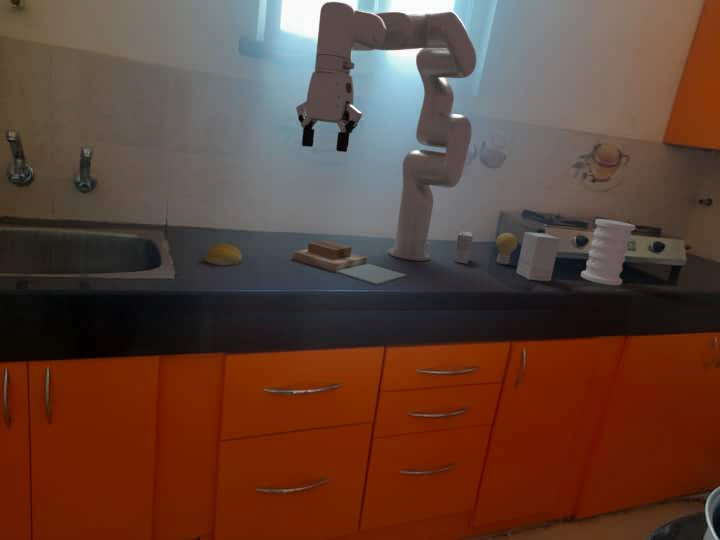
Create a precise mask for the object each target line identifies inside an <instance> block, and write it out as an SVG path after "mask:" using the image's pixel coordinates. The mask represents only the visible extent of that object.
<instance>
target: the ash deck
mask: <svg viewBox="0 0 720 540" xmlns="http://www.w3.org/2000/svg"><path fill="white" fill-rule="evenodd" d="M367 259H368V257H366V256H363V255H360V254H355V253H352V252H351V256H350V257H345V258H340V259H335V260H334V259H331V258H327V257H324V256H320V255H317V254H314V253H310V252H308V248H307V249H300V250H294V251H292V260H295V261H299V262H301V263H305V264H307V265H311V266H314V267H316V268H317V267H318V268H321V269H324V270H327V271H330V272H334V273H336V271H338V270H342V269H347V268H351V267H355V266H360V265H364V264H367Z"/></svg>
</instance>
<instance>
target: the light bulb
mask: <svg viewBox="0 0 720 540" xmlns="http://www.w3.org/2000/svg"><path fill="white" fill-rule="evenodd" d="M495 242H496V243H495V244H496V245H495V246H496V249H497V251H498V254H497V259H496V262H497V264H499V265H502V264H503V266H505V265H509V264H510V260H511V259H510V258H511V253H513V252H514V251H515V250H516V248H517V246H518V238H517V236H515V234H513V233H510V232H504V233H501V234H499V235H498V236H497V239H496V241H495Z"/></svg>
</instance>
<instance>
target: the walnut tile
mask: <svg viewBox="0 0 720 540" xmlns="http://www.w3.org/2000/svg"><path fill="white" fill-rule="evenodd" d="M307 246H308V247H307V249H308V252H310V253H314V254H317V255H320V256H324V257H327V258H331V259H334V260H335V259H340V258H345V257H350V256H351V253H352V246H348V245H344V244H340V243H336V242H333V241H330V240H327V239H325V240H317V241H311V242H308V245H307Z"/></svg>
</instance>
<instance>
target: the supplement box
mask: <svg viewBox="0 0 720 540" xmlns="http://www.w3.org/2000/svg"><path fill="white" fill-rule="evenodd" d="M560 240H561V239H560V238H558V237H556V236H552V235H551V234H547V233H543V232H542V233H541V232H530V231H528V232H526V231H524V234H523V239H522V244H521V248H520V253H519V259H518V262H517V267H516V271H515V272H516V274H517V275H519V276H522V277H523V278H525V279H527V280H528V281H529V280H532V281H541V282H551V281H552V275H553V272H554V268H555V262H556V258H557V253H558V250H559V245H560Z"/></svg>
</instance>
